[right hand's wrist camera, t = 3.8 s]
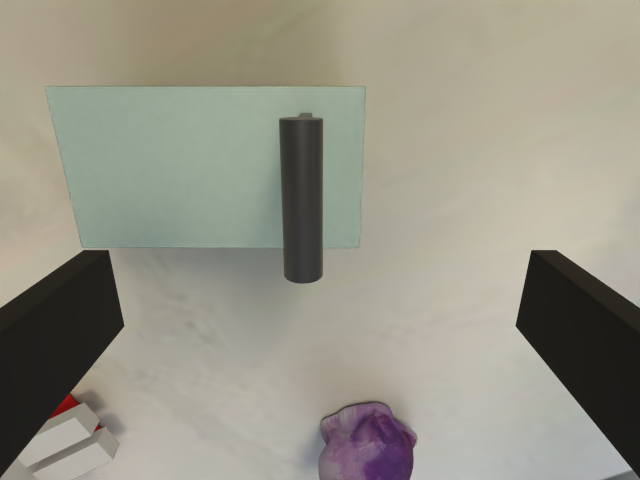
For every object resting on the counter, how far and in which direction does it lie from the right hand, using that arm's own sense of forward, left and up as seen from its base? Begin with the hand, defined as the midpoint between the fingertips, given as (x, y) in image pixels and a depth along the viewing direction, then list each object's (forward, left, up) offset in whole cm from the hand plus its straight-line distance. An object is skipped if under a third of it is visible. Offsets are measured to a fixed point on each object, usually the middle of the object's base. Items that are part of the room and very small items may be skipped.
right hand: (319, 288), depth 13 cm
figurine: (+26, +18, -24) cm, 40 cm away
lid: (+2, -6, -13) cm, 15 cm away
